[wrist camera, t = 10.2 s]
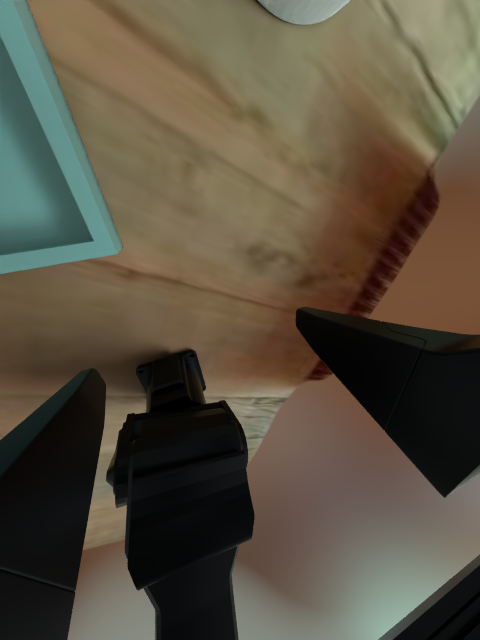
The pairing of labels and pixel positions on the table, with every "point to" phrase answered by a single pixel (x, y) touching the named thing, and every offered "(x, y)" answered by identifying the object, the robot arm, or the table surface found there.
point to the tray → (43, 160)
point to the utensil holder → (303, 9)
